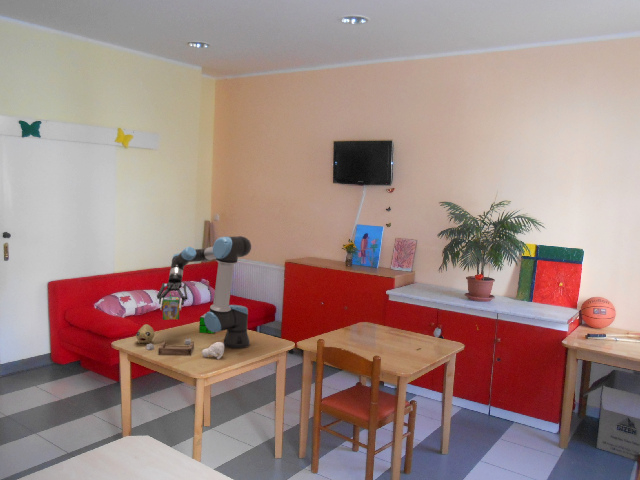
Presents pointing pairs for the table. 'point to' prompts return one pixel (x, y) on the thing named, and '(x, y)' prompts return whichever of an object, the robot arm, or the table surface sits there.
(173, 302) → the chalk box
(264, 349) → the table surface
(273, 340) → the table surface
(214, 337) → the table surface
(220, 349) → the white lumpy piece
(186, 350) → the brown tray holder
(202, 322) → the puzzle cube
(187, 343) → the grey clip
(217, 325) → the robot arm
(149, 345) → the grey clip
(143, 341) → the tan toy creature
